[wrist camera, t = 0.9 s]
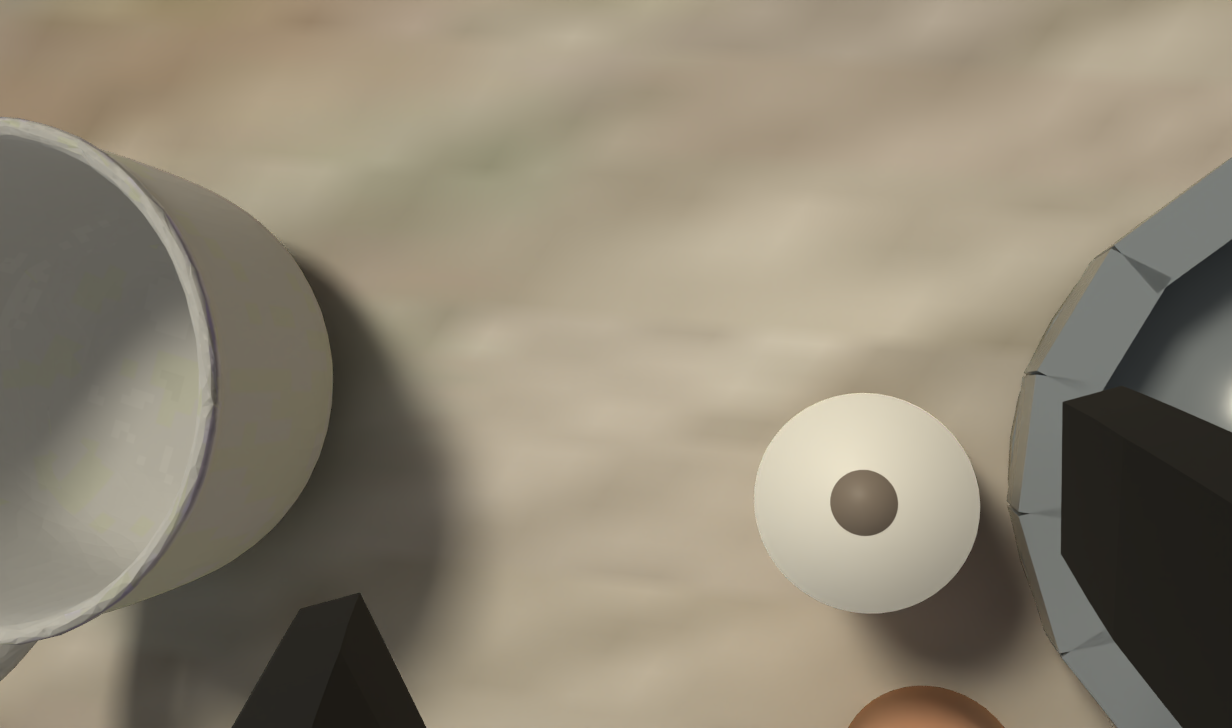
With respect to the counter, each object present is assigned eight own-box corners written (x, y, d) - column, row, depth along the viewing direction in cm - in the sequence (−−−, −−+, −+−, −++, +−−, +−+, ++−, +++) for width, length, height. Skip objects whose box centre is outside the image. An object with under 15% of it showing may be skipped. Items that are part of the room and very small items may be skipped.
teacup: (187, 116, 28) (-76, 11, 21) (471, 345, 26) (293, 324, 18) (-58, 503, 30) (-384, 541, 22) (185, 751, 28) (-88, 889, 20)
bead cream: (998, 499, 22) (1029, 528, 18) (853, 602, 23) (844, 656, 18) (884, 358, 23) (883, 348, 18) (746, 462, 24) (711, 479, 19)
